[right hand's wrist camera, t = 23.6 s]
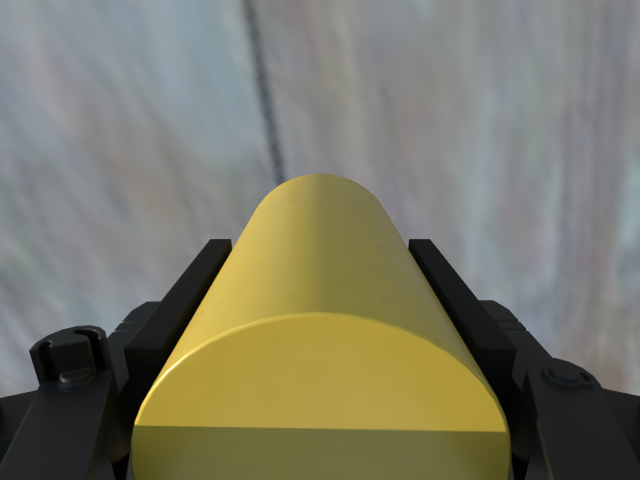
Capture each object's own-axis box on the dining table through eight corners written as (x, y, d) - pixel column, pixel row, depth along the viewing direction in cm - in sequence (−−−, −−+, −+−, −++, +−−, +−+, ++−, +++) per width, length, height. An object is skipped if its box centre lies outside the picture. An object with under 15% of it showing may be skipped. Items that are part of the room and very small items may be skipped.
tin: (297, 331, 18) (269, 632, 8) (218, 222, 17) (44, 430, 6) (418, 268, 17) (567, 522, 7) (346, 143, 15) (404, 232, 5)
